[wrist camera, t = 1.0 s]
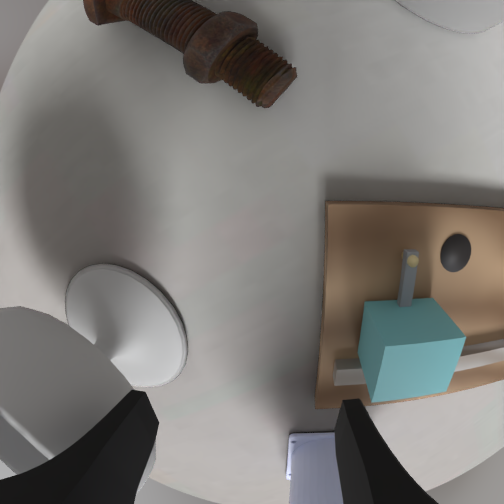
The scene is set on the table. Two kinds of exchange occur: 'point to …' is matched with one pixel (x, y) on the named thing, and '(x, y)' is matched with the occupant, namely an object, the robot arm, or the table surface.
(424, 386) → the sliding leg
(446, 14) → the cylinder vase
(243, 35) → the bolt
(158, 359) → the chalice
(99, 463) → the robot arm
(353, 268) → the board
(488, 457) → the table surface
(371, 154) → the table surface
